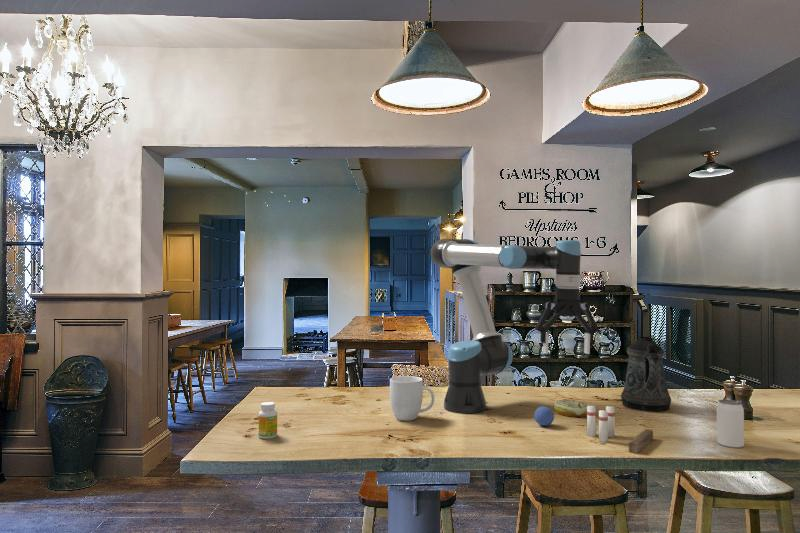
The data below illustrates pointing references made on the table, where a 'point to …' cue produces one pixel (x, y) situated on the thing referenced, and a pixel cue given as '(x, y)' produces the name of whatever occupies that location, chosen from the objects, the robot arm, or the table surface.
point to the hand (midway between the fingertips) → (566, 353)
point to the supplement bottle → (267, 421)
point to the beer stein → (645, 378)
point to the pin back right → (603, 426)
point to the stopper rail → (640, 441)
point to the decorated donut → (571, 408)
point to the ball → (544, 416)
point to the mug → (408, 397)
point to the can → (730, 423)
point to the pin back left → (611, 421)
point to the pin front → (591, 420)
